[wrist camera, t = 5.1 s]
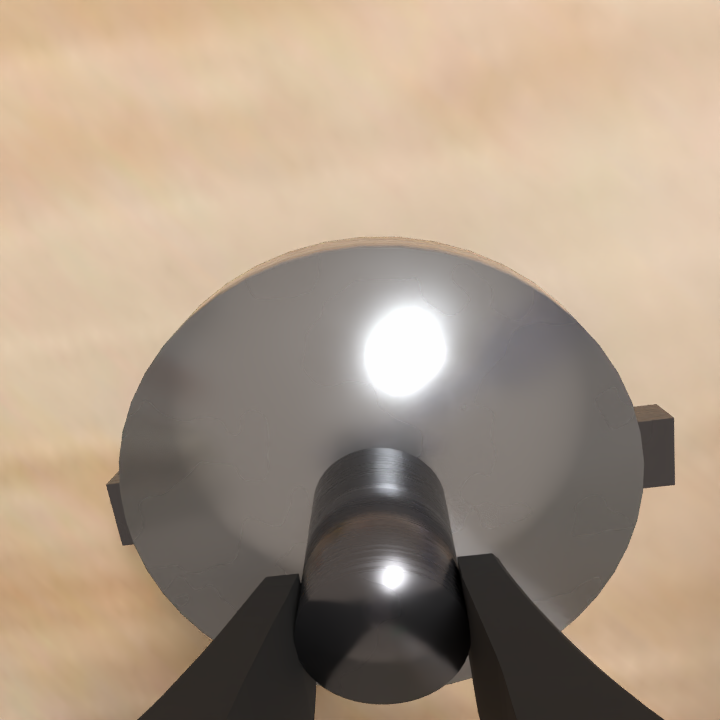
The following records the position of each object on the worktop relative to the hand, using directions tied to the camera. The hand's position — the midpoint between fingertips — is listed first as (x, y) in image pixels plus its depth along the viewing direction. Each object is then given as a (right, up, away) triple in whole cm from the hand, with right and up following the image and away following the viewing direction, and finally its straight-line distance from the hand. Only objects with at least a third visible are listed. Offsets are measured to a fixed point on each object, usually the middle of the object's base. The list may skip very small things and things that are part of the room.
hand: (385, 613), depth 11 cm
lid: (0, +2, +3) cm, 4 cm away
